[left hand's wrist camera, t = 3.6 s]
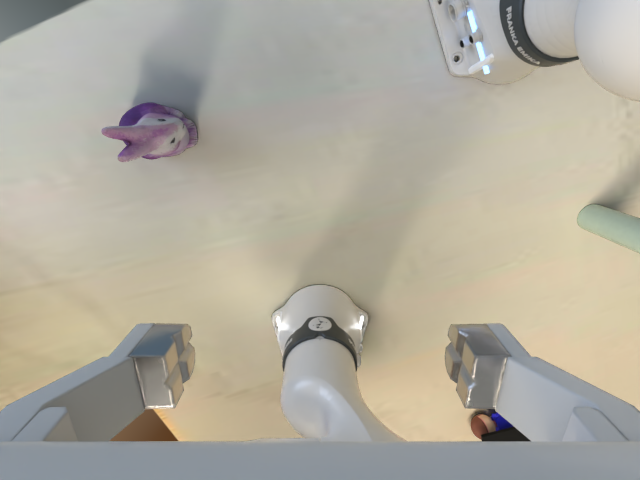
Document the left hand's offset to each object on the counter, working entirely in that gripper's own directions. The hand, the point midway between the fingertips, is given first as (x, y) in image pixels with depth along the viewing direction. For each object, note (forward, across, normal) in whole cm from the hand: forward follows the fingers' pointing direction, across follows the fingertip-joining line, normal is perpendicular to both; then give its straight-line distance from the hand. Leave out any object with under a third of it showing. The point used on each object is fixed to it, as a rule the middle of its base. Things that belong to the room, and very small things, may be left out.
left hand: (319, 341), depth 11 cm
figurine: (+48, -24, +4) cm, 54 cm away
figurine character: (+48, +40, -55) cm, 84 cm away
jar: (+48, +48, -10) cm, 68 cm away
